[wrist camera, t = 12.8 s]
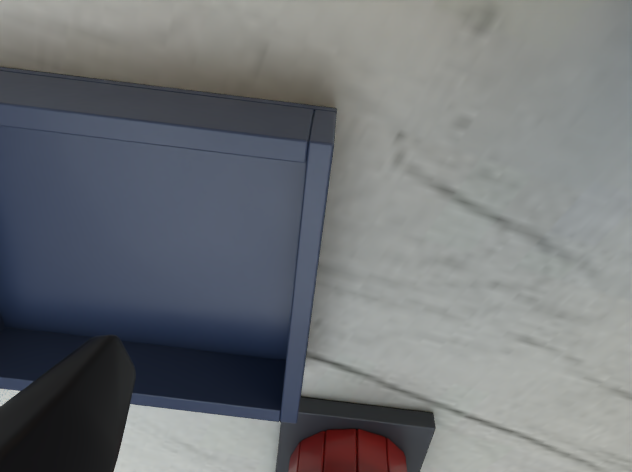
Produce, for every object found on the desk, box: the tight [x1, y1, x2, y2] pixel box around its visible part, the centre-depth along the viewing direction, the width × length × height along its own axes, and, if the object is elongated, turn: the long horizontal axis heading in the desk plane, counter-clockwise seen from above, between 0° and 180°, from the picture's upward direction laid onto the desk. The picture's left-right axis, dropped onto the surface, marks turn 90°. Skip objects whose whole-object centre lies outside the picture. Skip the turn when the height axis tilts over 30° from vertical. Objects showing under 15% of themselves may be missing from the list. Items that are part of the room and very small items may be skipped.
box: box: [0, 67, 337, 423], centre depth 21 cm, size 16×14×3 cm
